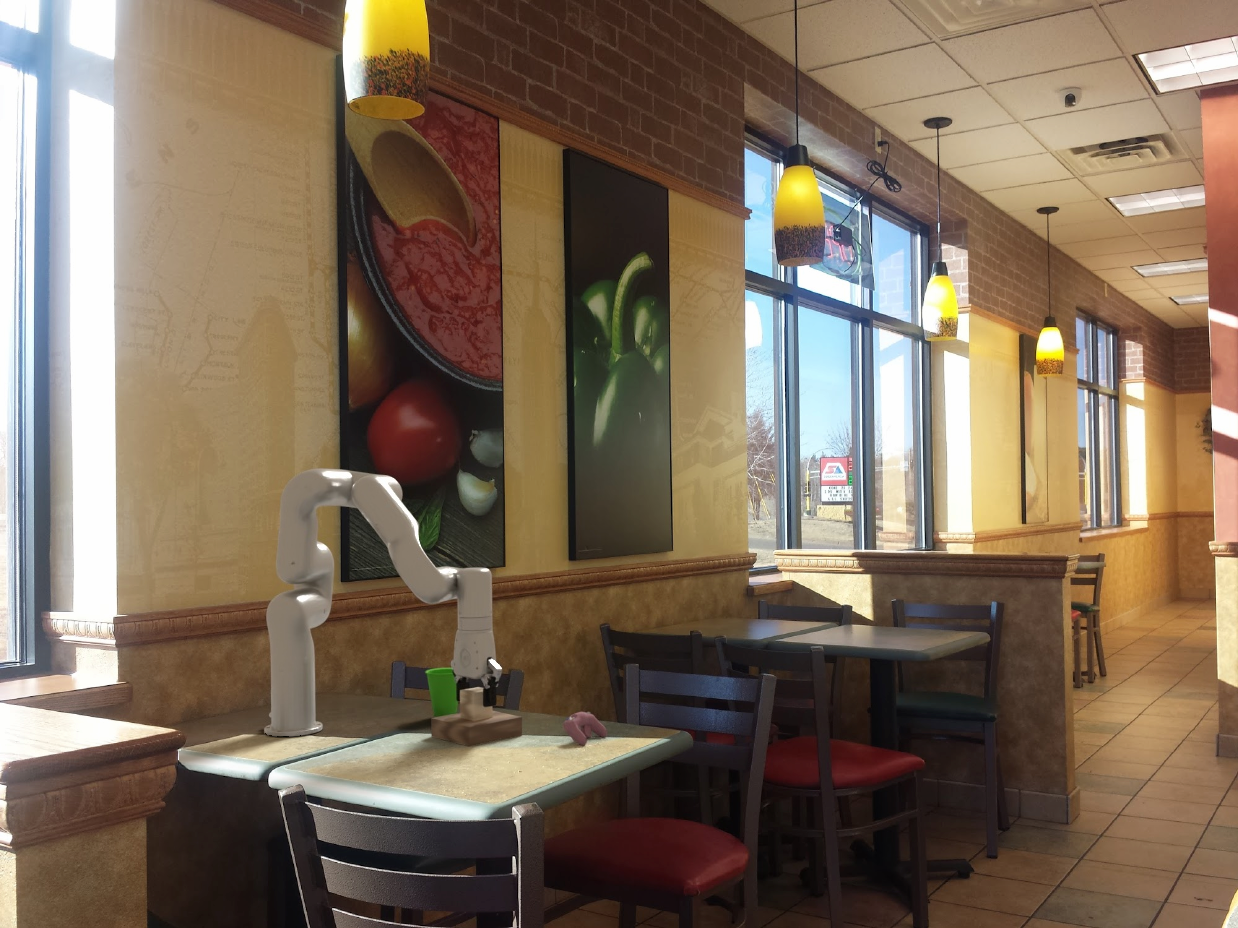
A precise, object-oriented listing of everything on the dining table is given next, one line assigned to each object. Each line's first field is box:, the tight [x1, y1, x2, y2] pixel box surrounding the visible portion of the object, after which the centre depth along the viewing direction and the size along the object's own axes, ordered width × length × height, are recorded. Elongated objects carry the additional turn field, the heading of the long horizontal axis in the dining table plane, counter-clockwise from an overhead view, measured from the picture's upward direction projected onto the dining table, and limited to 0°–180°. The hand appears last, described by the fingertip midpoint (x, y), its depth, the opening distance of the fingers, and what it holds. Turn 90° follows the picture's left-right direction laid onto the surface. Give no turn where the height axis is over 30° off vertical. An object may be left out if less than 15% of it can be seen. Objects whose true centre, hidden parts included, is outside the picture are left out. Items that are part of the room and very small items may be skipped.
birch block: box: [459, 686, 494, 721], centre depth 241 cm, size 5×5×6 cm
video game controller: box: [563, 711, 608, 746], centre depth 235 cm, size 10×5×7 cm, turn 150°
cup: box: [424, 667, 459, 718], centre depth 261 cm, size 9×9×11 cm
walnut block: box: [430, 710, 523, 748], centre depth 240 cm, size 14×14×4 cm
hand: (476, 703), depth 241 cm, fingers open, 9 cm apart
